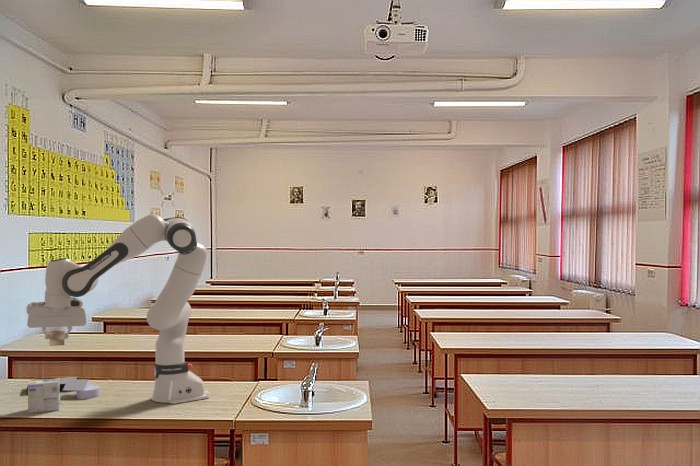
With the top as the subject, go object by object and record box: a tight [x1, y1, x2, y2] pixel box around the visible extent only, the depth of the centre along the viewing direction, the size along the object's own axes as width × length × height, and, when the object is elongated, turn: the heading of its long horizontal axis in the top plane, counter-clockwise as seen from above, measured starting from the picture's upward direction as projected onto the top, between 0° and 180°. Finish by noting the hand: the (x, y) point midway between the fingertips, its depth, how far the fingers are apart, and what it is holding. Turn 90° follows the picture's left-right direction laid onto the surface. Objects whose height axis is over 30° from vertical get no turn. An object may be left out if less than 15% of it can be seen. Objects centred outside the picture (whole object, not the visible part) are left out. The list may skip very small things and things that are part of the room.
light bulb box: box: [27, 377, 61, 414], centre depth 248 cm, size 11×7×11 cm, turn 111°
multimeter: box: [26, 376, 79, 396], centre depth 280 cm, size 13×19×5 cm
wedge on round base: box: [63, 378, 102, 400], centre depth 268 cm, size 9×7×13 cm
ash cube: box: [48, 329, 66, 347], centre depth 248 cm, size 5×5×5 cm
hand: (56, 338), depth 248 cm, fingers closed on ash cube, 5 cm apart
